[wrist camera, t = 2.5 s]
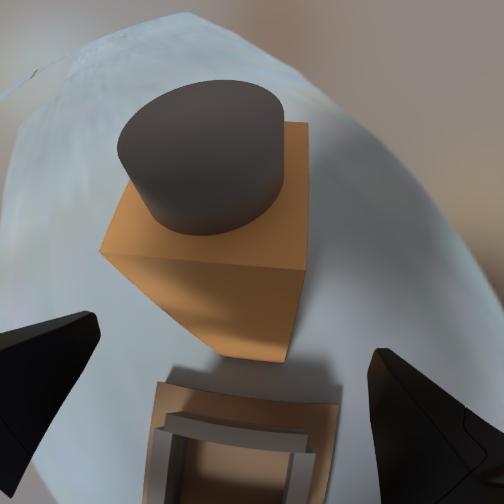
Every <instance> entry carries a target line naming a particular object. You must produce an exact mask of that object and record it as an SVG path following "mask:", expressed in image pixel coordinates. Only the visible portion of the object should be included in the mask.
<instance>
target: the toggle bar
mask: <svg viewBox="0 0 504 504" xmlns="http://www.w3.org/2000/svg"><path fill="white" fill-rule="evenodd" d="M117 152H118V157H119V159H120V161H121V163H122V165H123V167H124V168H125V170H126V172H127V174H128V176H129V177H130V180H129V182H128V184H127V187H126V189H125V191H124V193H123V195H122V197H121V199H120V202H119V204H118V206H117V208H116V211H115V213H114V215H113V218H112V220H111V222H110V225H109V227H108V230H107V232H106V235H105V237H104V240H103V242H102V245H101V248H100V250H99V252H100V253H101V254H102V255H103V256H104V257H105V258H106V259H107V260H108V261H109V262H110V263H111V264H112V265H113V266H114V267H115V268H116V269H117V270H118V271H119V272H121V273H122V274H123V275H124V276H125V277H126V278H127V279H128V280H129V281H130V282H131V283H132V284H134V285H135V286H136V287H137V288H138V289H139V290H140V291H141V292H143V293H144V294H145V295H146V296H147V297H148V298H149V299H151V300H152V301H153V302H154V303H155V304H156V305H157V306H159V307H160V308H161V309H162V310H163V311H165V312H166V313H167V314H168V315H169V316H171V317H172V318H173V319H174V320H175V321H177V322H178V323H179V324H180V325H182V326H183V327H184V328H185V329H187V330H188V331H189V332H190V333H192V334H193V335H194V336H196V337H197V338H198V339H199V340H201V341H202V342H203V343H205V344H206V345H207V346H209V347H210V348H211V349H213V350H214V351H215V352H217V353H218V354H219V355H221V356H225V357H232V358H240V359H248V360H256V361H266V362H276V363H284V360H285V357H286V353H287V349H288V345H289V341H290V337H291V333H292V329H293V325H294V321H295V317H296V313H297V309H298V304H299V300H300V296H301V291H302V287H303V282H304V278H305V273H306V263H307V239H308V201H309V137H308V123H302V122H284V110H283V107H282V104H281V103H280V101H279V100H278V98H277V97H276V96H275V95H274V94H272V93H271V92H270V91H268V90H266V89H265V88H263V87H260V86H258V85H255V84H252V83H248V82H243V81H236V80H213V81H204V82H198V83H194V84H190V85H186V86H183V87H180V88H177V89H174V90H172V91H170V92H167V93H165V94H163V95H161V96H159V97H157V98H156V99H154V100H152V101H151V102H149V103H148V104H146V105H145V106H144V107H142V108H141V109H140V110H139V111H138V112H137V113H135V115H134V116H133V117H132V118H131V119H130V120H129V121H128V122H127V124H126V125H125V127H124V128H123V130H122V132H121V134H120V136H119V140H118V144H117Z"/></svg>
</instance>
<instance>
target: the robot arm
mask: <svg viewBox="0 0 504 504" xmlns="http://www.w3.org/2000/svg"><path fill="white" fill-rule="evenodd" d="M100 337H101V332H100V328H99V324H98V320H97V316H96V314H95V313H93V312H89V311H82V312H78V313H74V314H71V315H67V316H63V317H60V318H56V319H52V320H49V321H45V322H41V323H37V324H34V325H30V326H26V327H22V328H19V329H15V330H11V331H7V332H4V333H0V490H1V491H2V492H4V494H6V495H7V496H8V497H9V498H12V497H13V495H14V493H15V491H16V489H17V487H18V485H19V482H20V480H21V478H22V476H23V474H24V472H25V470H26V468H27V466H28V464H29V463H30V461H31V459H32V456H33V454H34V453H35V451H36V449H37V447H38V445H39V443H40V442H41V440H42V438H43V436H44V434H45V433H46V431H47V429H48V427H49V426H50V424H51V422H52V421H53V419H54V417H55V415H56V414H57V412H58V410H59V409H60V407H61V406H62V404H63V402H64V401H65V399H66V397H67V396H68V394H69V393H70V391H71V389H72V388H73V386H74V385H75V383H76V382H77V380H78V378H79V377H80V375H81V374H82V372H83V370H84V368H85V367H86V365H87V363H88V361H89V359H90V357H91V355H92V353H93V351H94V350H95V348H96V346H97V344H98V342H99V340H100ZM367 380H368V393H369V410H370V422H371V428H372V434H373V440H374V447H375V454H376V461H377V469H378V477H379V486H380V495H381V504H504V433H503V432H501V431H499V430H498V429H496V428H495V427H493V426H492V425H490V424H489V423H487V422H486V421H484V420H483V419H482V418H480V417H479V416H477V415H476V414H475V413H473V412H472V411H471V410H470V409H468V408H467V407H466V408H465V406H464V405H463V404H462V403H460V402H459V401H458V400H456V399H455V398H454V397H452V396H451V395H450V394H448V393H447V392H446V391H445V390H443V389H442V388H441V387H439V386H438V385H437V384H435V383H434V382H433V381H431V380H430V379H429V378H427V377H426V376H425V375H423V374H422V373H421V372H420V371H418V370H417V369H416V368H414V367H413V366H412V365H410V364H409V363H408V362H406V361H405V360H404V359H402V358H401V357H400V356H398V355H397V354H396V353H394V352H393V351H392V350H390V349H389V348H377V349H375V351H374V353H373V356H372V359H371V362H370V365H369V368H368V373H367Z"/></svg>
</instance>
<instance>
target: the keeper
mask: <svg viewBox="0 0 504 504" xmlns="http://www.w3.org/2000/svg"><path fill="white" fill-rule="evenodd" d="M338 408H339V405H338V404H314V403H296V402H282V401H271V400H262V399H253V398H245V397H238V396H231V395H225V394H218V393H213V392H207V391H202V390H196V389H191V388H187V387H182V386H177V385H173V384H169V383H164V382H157V388H156V394H155V400H154V406H153V413H152V420H151V427H150V434H149V441H148V449H147V458H146V466H145V476H144V487H143V499H142V504H323V501H324V497H325V492H326V487H327V482H328V477H329V471H330V466H331V460H332V453H333V447H334V440H335V433H336V425H337V417H338Z"/></svg>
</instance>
